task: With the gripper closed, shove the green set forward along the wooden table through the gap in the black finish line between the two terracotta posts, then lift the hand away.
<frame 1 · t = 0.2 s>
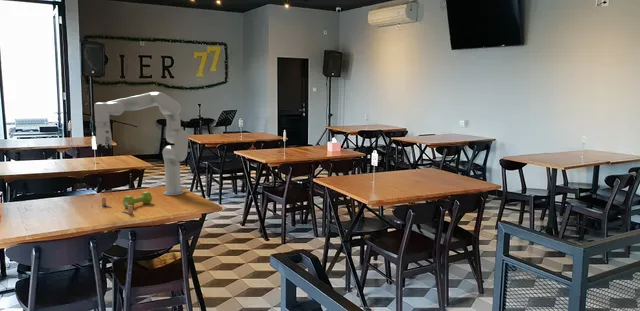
hand: (104, 154, 284), 31 cm above the table, tool pointing down, fingers open, 9 cm apart
dumbbell: (138, 206, 291), on the table
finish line: (116, 209, 281), on the table
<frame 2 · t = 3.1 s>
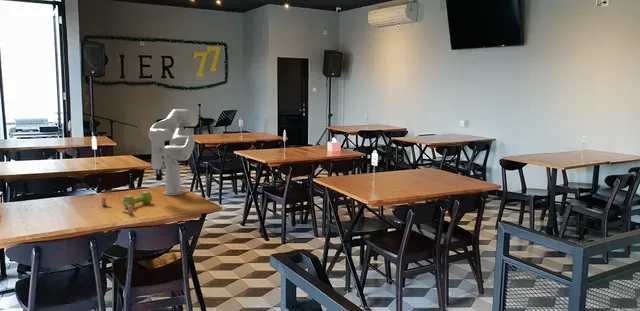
hand: (159, 180, 299), 13 cm above the table, tool pointing down, fingers closed
nothing on the table moved.
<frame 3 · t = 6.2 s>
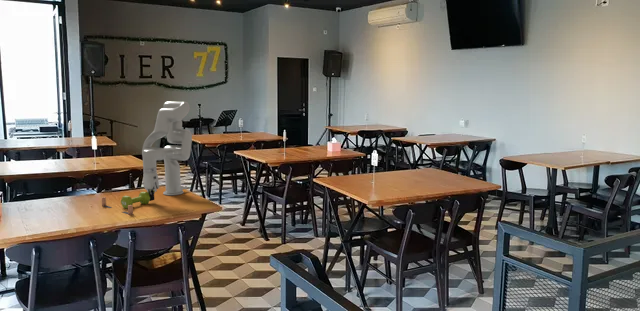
hand: (151, 200, 297), 2 cm above the table, tool pointing down, fingers closed
dumbbell: (136, 206, 290), on the table, touching gripper
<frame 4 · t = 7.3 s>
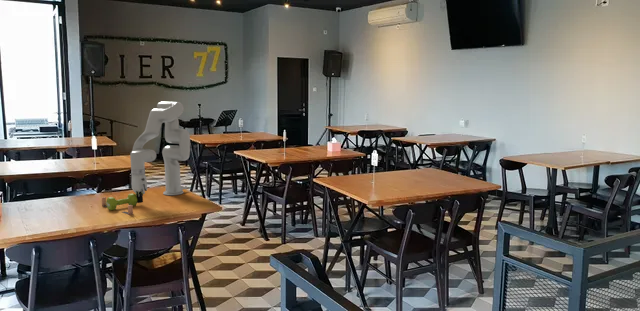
hand: (139, 202, 291), 2 cm above the table, tool pointing down, fingers closed
dumbbell: (122, 208, 286), on the table, touching gripper
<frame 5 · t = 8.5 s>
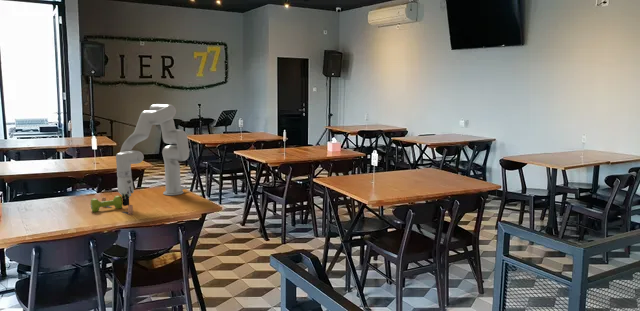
hand: (126, 205, 285), 2 cm above the table, tool pointing down, fingers closed
dumbbell: (107, 210, 281), on the table, touching gripper
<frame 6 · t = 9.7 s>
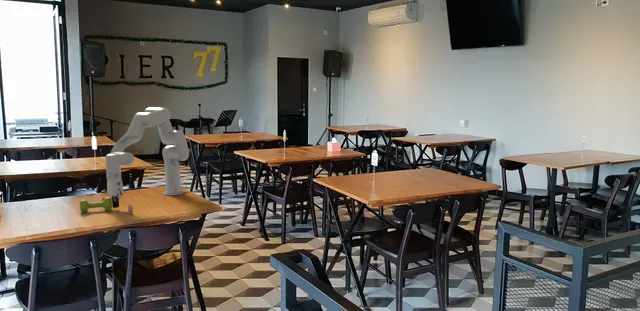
hand: (115, 207, 280), 2 cm above the table, tool pointing down, fingers closed
dumbbell: (96, 211, 278), on the table, touching gripper
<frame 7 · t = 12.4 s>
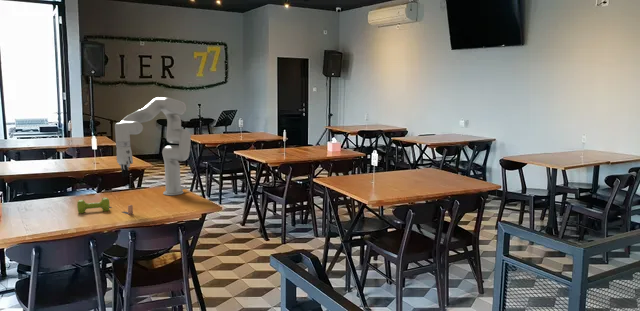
hand: (125, 176, 283), 19 cm above the table, tool pointing down, fingers closed
dumbbell: (94, 212, 277), on the table
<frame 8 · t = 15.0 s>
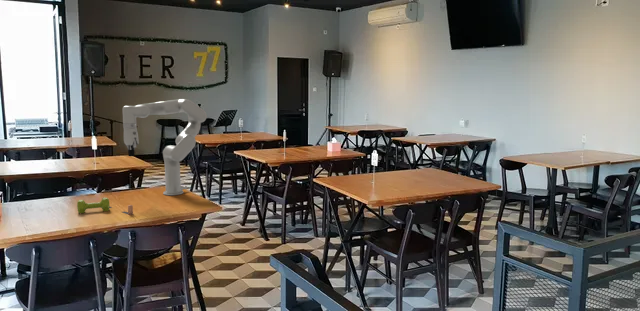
hand: (131, 156, 303), 27 cm above the table, tool pointing down, fingers closed
nothing on the table moved.
at the end: dumbbell inside the target area (9.3 cm from its centre), on the table; dumbbell moved 24.0 cm from its start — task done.
